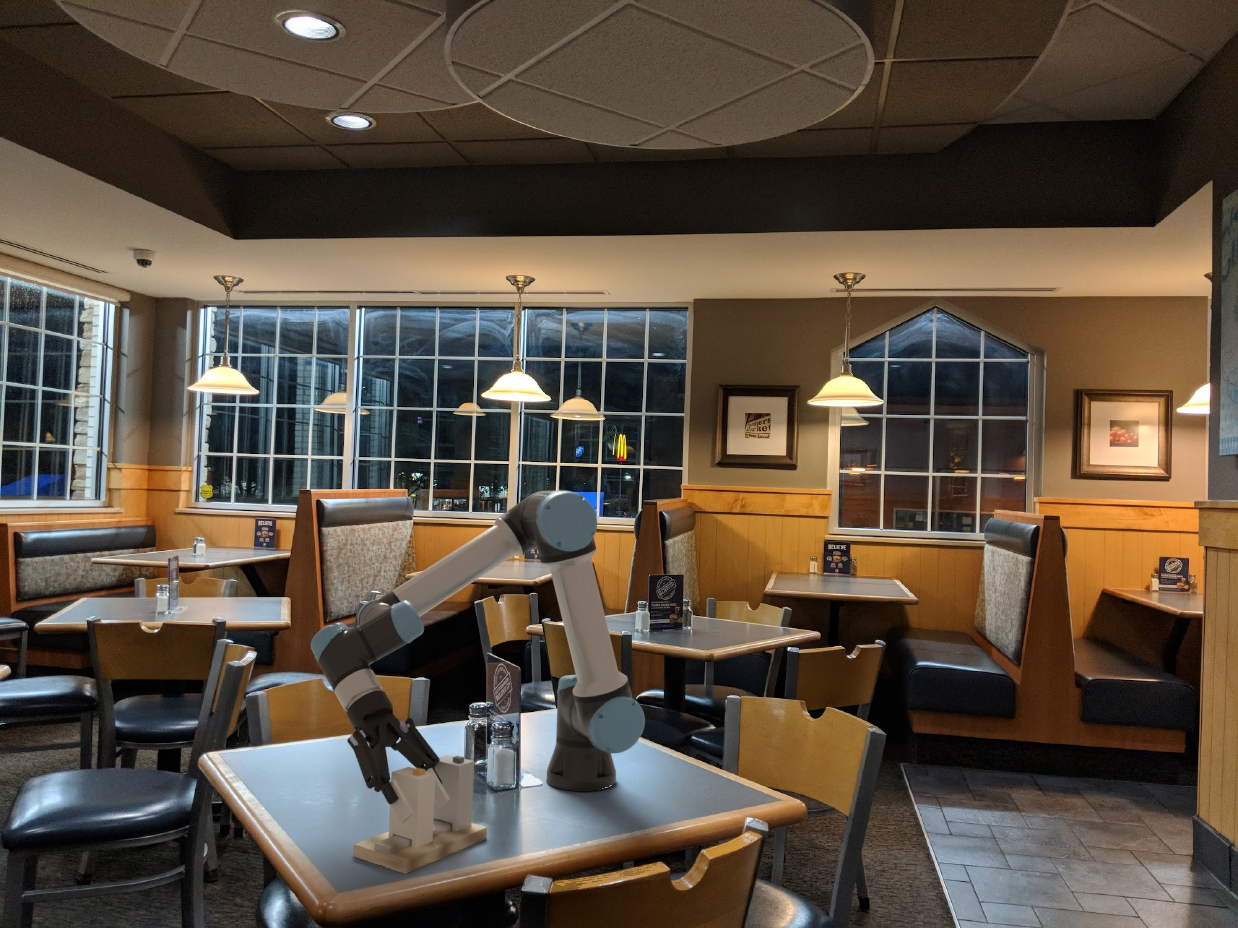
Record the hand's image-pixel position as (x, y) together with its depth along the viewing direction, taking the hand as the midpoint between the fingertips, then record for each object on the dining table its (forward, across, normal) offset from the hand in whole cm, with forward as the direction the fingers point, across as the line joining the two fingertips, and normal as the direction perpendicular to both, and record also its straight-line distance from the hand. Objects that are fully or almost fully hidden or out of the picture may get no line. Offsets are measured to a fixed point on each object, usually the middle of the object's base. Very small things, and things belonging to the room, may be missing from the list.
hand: (426, 810), depth 157 cm
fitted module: (+2, -10, -6) cm, 12 cm away
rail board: (+3, -3, -8) cm, 9 cm away
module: (+2, 0, -6) cm, 7 cm away
